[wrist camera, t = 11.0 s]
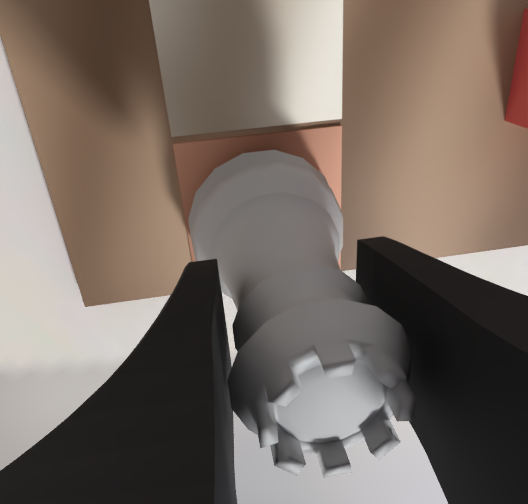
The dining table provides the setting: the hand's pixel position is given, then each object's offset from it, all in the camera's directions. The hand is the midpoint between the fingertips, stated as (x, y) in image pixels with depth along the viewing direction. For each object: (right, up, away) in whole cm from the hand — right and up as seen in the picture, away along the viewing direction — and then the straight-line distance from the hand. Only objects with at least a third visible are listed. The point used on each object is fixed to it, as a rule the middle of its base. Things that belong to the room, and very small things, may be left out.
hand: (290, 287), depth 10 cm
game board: (+2, +5, +3) cm, 6 cm away
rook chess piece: (-1, +2, +4) cm, 4 cm away
